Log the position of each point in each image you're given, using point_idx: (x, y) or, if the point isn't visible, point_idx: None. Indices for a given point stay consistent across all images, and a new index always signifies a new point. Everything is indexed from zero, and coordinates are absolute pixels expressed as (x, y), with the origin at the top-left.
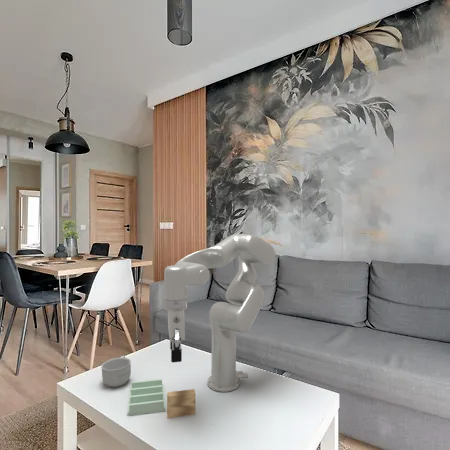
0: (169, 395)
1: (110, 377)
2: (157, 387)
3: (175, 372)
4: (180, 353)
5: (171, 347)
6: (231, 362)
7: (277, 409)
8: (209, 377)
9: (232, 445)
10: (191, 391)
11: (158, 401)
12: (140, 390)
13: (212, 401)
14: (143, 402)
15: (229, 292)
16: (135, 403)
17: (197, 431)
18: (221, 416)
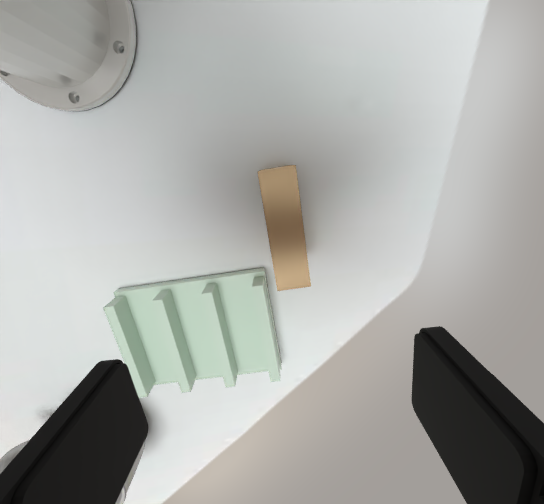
0: (304, 279)
1: (136, 465)
2: (167, 315)
3: (3, 253)
4: (504, 403)
5: (136, 444)
6: None
7: None
8: (29, 96)
9: (482, 24)
10: (279, 185)
11: (263, 302)
12: (184, 362)
13: (209, 92)
14: (265, 345)
15: None
16: (269, 366)
17: (383, 156)
18: (312, 56)
